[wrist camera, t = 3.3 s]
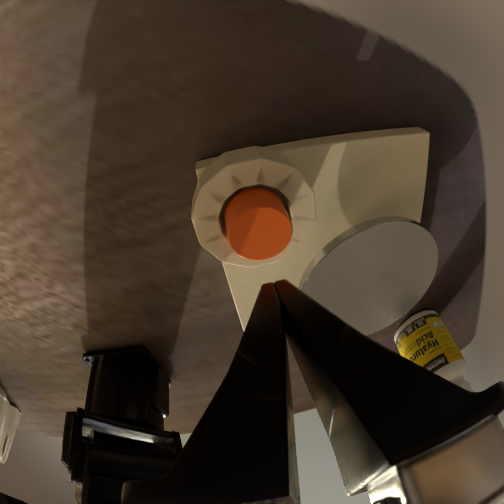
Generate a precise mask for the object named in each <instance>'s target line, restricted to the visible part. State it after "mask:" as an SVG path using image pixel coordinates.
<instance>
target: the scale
mask: <svg viewBox="0 0 504 504" xmlns="http://www.w3.org/2000/svg"><path fill="white" fill-rule="evenodd" d="M429 139H430V133H429V132H427V131H425V130H424V129H422V128H420V127H409V128H396V129H384V130H374V131H364V132H356V133H347V134H339V135H332V136H325V137H318V138H311V139H305V140H299V141H293V142H287V143H281V144H276V145H270V146H265V147H260V146H251V147H246V148H241V149H237V150H232V151H228V152H225V153H223V154H222V155H221V156H218V157H213V158H209V159H205V160H201V161H197V162H196V170H195V171H196V174H197V178H198V182H197V186H196V189H195V192H194V196H193V199H192V214H191V219H192V222H193V225H194V228H195V231H196V234H197V237H198V240H199V243H200V244H201V246H202V247H204V248H205V249H206V250H207V251H209V252H210V253H211V254H212V255H214V256H215V257H216V258H217V259H219V260H220V261H222V264H223V267H224V270H225V274H226V277H227V280H228V283H229V287H230V290H231V293H232V296H233V299H234V303H235V306H236V309H237V312H238V315H239V318H240V322H241V325H242V328H243V331H245V328H246V325H247V323H248V320H249V318H250V315H251V312H252V310H253V307H254V304H255V302H256V299H257V296H258V294H259V291H260V288H261V286H262V284H265V283H269V282H273V283H274V282H275V281H278V280H282V279H286V280H288V281H289V282H290V283H292V284H293V285H295V286H296V287H297V288H298V285H299V282H300V279H301V277H302V275H303V273H304V271H305V269H306V268H307V266H308V265H309V263H310V262H311V261H312V259H313V258H314V257H315V256H316V255H317V253H318V252H319V251H320V250H321V249H322V248H323V247H324V246H326V245H327V244H328V243H329V242H330V241H332V240H333V239H334V238H335V237H337V236H338V235H340V234H341V233H343V232H344V231H346V230H348V229H350V228H352V227H354V226H355V225H358V224H360V223H363V222H365V221H368V220H372V219H375V218H380V217H387V216H399V217H406V218H409V219H412V220H414V221H416V222H418V223H420V220H421V214H422V207H423V200H424V193H425V185H426V176H427V166H428V154H429ZM253 188H262V189H266V190H269V191H271V192H273V193H275V194H276V195H277V196H278V197H279V198H280V199H281V201H282V203H283V205H284V207H285V209H286V211H287V213H288V215H289V218H290V220H291V222H292V226H293V233H292V237H291V240H290V242H289V244H288V245H287V247H286V248H285V249H284V250H283V251H282V252H281V253H279V254H278V255H276V256H274V257H272V258H269V259H266V260H258V261H257V260H249V259H245V258H243V257H241V256H239V255H238V254H236V253H235V252H234V251H233V250H232V248H231V247H230V245H229V242H228V238H227V230H226V222H225V212H226V208H227V206H228V204H229V202H230V201H231V200H232V199H233V198H234V197H235V196H236V195H237V194H239V193H241V192H242V191H245V190H248V189H253Z"/></svg>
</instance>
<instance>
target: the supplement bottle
mask: <svg viewBox="0 0 504 504" xmlns="http://www.w3.org/2000/svg"><path fill="white" fill-rule="evenodd" d="M394 340H395V343H396V345H397V347H398V350H399V352H400V354H401V356H403V357H405V358H407V359H409V360H410V361H412V362H414V363H416V364H418V365H420V366H422V367H424V368H426V369H427V370H429V371H431V372H433V373H435V374H437V375H439V376H441V377H443V378H445V379H447V380H448V381H450V382H452V383H454V384H456V385H458V386H460V387H462V388H464V389H466V390H468V391H471V392H473V390H472V388H471V386H470V384H469V383H468V381H465V380H464V376H465V375H466V373H467V369H468V367H467V363H466V361H465V359H464V357H463V356H462V354H461V352H460V350H459V349H458V347H457V345H456V343H455V342H454V340H453V338H452V337H451V335H450V333H449V332H448V330H447V328H446V326H445V325H444V323H443V321H442V320H441V318H440V317H439V315H438V314H437V313H436V312H435V311H433V310H426V311H422V312H419V313H417V314H415V315H413V316H412V317H410V318H409V319H407V320H406V321H405V322H404V323H403V324H402V325H401V326H400V327H399V329H398V330H397V332H396V334H395V337H394Z"/></svg>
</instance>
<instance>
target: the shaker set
mask: <svg viewBox="0 0 504 504" xmlns="http://www.w3.org/2000/svg"><path fill="white" fill-rule="evenodd" d="M9 404H10V402H9V401H8V400H7V398H6V394H5V392H4V391H3V390H2V388H1V386H0V462H1V463H4V462H5V461H6V459H7V457H8V453H9V450H10V447H11V444H12V441H13V437H14V434H15V431H16V428H17V425H18V422H19V419H20V416H21V414H22V413H20V412H19V411H18V409H17V408H15V407H14V406H11V405H9Z"/></svg>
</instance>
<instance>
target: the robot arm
mask: <svg viewBox="0 0 504 504" xmlns="http://www.w3.org/2000/svg"><path fill="white" fill-rule="evenodd" d="M286 337H287V340H288V342H289V345H290V347H291V349H292V352H293V354H294V357H295V359H296V361H297V364H298V366H299V368H300V371H301V373H302V376H303V378H304V380H305V383H306V385H307V387H308V390H309V392H310V394H311V397H312V399H313V402H314V404H315V406H316V409H317V411H318V413H319V416H320V418H321V420H322V423H323V425H324V428H325V430H326V432H327V435H328V437H329V439H330V442H331V444H332V447H333V450H334V453H335V456H336V459H337V462H338V466H339V469H340V472H341V476H342V479H343V483H344V486H345V489H346V493H347V496H348V497H350V496H353V495H356V494H359V493H362V492H365V491H368V493H369V497H370V500H371V504H504V428H503V426H502V424H501V422H500V420H499V418H498V415H499V414H500V413H501V412H502V411H503V410H504V382H503V381H500V382H498V383H496V384H494V385H493V386H491V387H489V388H488V389H486V390H484V391H482V392H471V391H468V390H466V389H464V388H462V387H460V386H458V385H456V384H454V383H452V382H450V381H448V380H447V379H445V378H443V377H441V376H439V375H437V374H435V373H433V372H431V371H429V370H427V369H426V368H424V367H422V366H420V365H418V364H416V363H414V362H412V361H410V360H409V359H407V358H405V357H403V356H401V355H399V354H397V353H395V352H394V351H392V350H390V349H388V348H386V347H384V346H382V345H381V344H379V343H377V342H375V341H374V340H372V339H370V338H368V337H367V336H365V335H364V334H362V333H361V332H359V331H358V330H356V329H355V328H353V327H352V326H351V325H349V324H347V323H346V322H345V321H343V320H342V319H340V318H339V317H338V316H336V315H335V314H333V313H332V312H331V311H329V310H328V309H326V308H325V307H324V306H322V305H321V304H320V303H318V302H317V301H315V300H314V299H313V298H311V297H310V296H308V295H307V294H306V293H304V292H303V291H301V290H300V289H299V288H297V287H296V286H295V285H293V284H292V283H290V282H289V281H288V280H286V279H282V280H278V281H275V282H274V283H273V282H269V283H265V284H262V286H261V288H260V291H259V294H258V296H257V299H256V302H255V304H254V307H253V310H252V312H251V315H250V318H249V320H248V323H247V325H246V328H245V331H244V333H243V336H242V339H241V341H240V344H239V346H238V349H237V351H236V353H235V356H234V359H233V361H232V363H231V366H230V368H229V370H228V372H227V374H226V376H225V378H224V380H223V382H222V383H221V385H220V387H219V389H218V390H217V392H216V394H215V396H214V397H213V399H212V401H211V402H210V404H209V406H208V407H207V409H206V411H205V413H204V414H203V416H202V418H201V419H200V421H199V423H198V424H197V426H196V428H195V429H194V431H193V433H192V434H191V436H190V437H189V439H188V441H187V443H186V444H185V446H184V447H182V443H181V439H180V434H179V432H175V431H172V432H169V431H164V417H168V415H169V387H170V386H171V380H170V379H169V377H168V375H167V374H166V373H165V371H164V370H163V369H162V368H161V366H160V365H159V364H158V363H157V362H156V361H155V359H154V358H153V357H152V355H151V354H150V353H149V351H148V350H147V349H146V348H145V347H143V346H136V347H129V348H122V349H114V350H107V351H98V352H90V353H84V354H83V357H82V359H83V361H84V362H85V363H86V364H87V365H88V366H89V367H90V368H91V372H90V378H89V384H88V390H87V396H86V402H85V409H82V408H79V407H77V410H76V412H74V411H73V412H67V413H66V418H65V425H64V432H63V442H62V456H61V461H62V462H63V464H64V465H65V467H66V468H67V473H69V482H72V483H76V499H77V502H78V504H301V502H300V490H299V478H298V467H297V456H296V443H295V430H294V417H293V405H292V394H291V382H290V371H289V361H288V350H287V341H286ZM82 433H84V434H87V435H88V437H85V436H82ZM0 504H27V503H25V502H23V501H21V500H18V499H15V498H13V497H11V496H8V495H6V494H3V493H1V492H0Z"/></svg>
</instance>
